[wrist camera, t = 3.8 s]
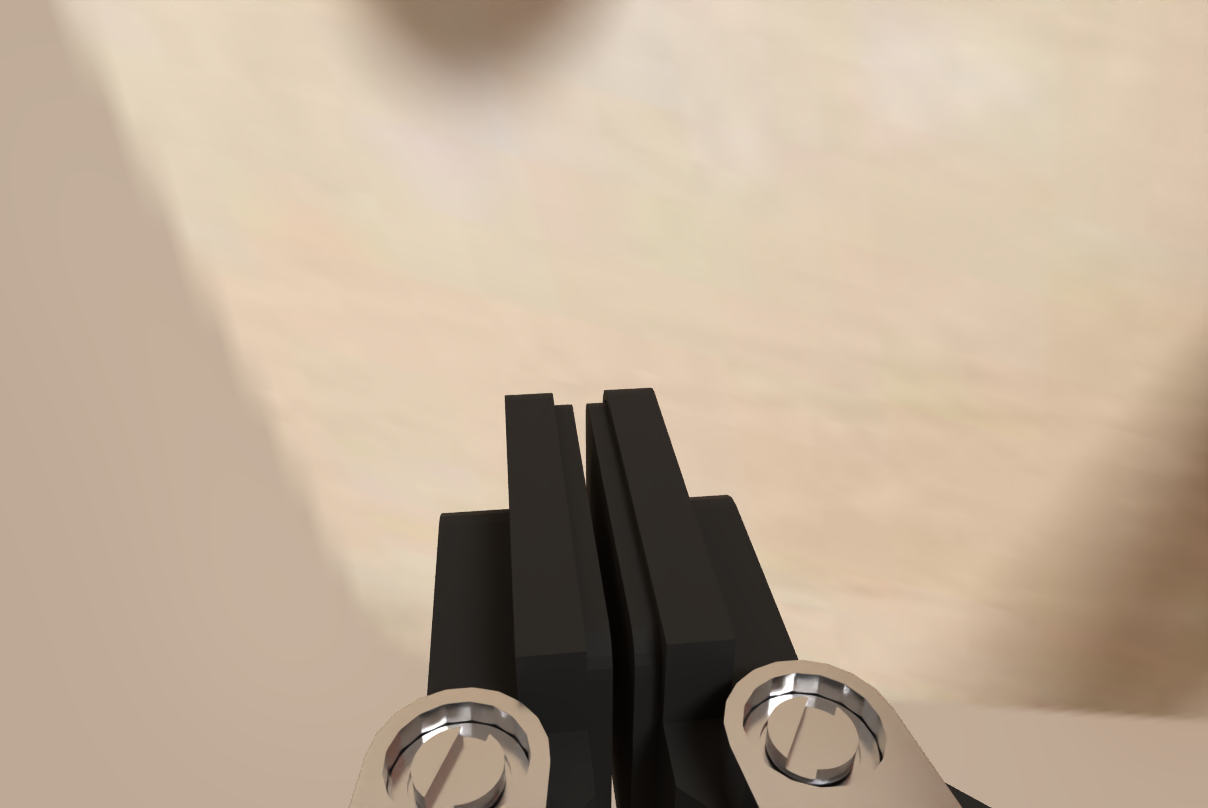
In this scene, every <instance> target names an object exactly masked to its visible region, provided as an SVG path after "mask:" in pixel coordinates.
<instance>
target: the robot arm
mask: <svg viewBox="0 0 1208 808" xmlns="http://www.w3.org/2000/svg"><path fill="white" fill-rule="evenodd" d="M505 414H506V439H507V464H508V489H509V509H502V510H487V511H472V512H456V513H441V516H440V522H439V533H438V548H437V562H436V576H435V590H434V605H433V619H432V633H431V648H430V662H429V676H428V691H427V696H426V697H422V698H419V699H418V700H416V701H414V702H413V703H411V704H410V705H408V706H406V707H405V708H403V709H402V710H400V711H398V712H397V713H395V714H394V715H393V716H392V717H391V719H390V720H389V721H388V722H387V723H386V724H385V725H384V726H383V727H382V728H381V729H380V730H379V731H378V732H377V733H376V735H375V737H374V739H373V741H372V743H371V745H370V747H369V749H368V751H367V753H366V755H365V758H364V761H363V764H362V767H361V770H360V774H359V777H358V780H357V783H356V786H355V790H354V793H353V796H352V799H351V802H350V805H349V808H611V784H612V781H611V780H612V779H613V786H614V793H615V800H616V807H617V808H991V807H988V806H987V805H985V804H983V803H981V802H980V801H978V800H976V799H974V798H972V797H970V796H968V795H966V794H965V793H963V792H961V791H959V790H958V789H956V788H954V787H952V786H950V785H948V784H947V783H945V782H944V781H943V779H942V778H941V777H940V775H939V774H938V772H937V771H936V769H935V768H934V766H933V765H932V763H931V762H930V761H929V759H928V758H927V756H926V755H925V753H924V752H923V750H922V749H921V747H920V746H919V745H918V743H917V742H916V740H915V739H914V737H913V736H912V735H911V733H910V732H909V730H908V729H907V727H906V726H905V724H904V723H903V721H902V720H901V719H900V717H899V716H898V714H897V713H896V711H895V710H894V709H893V707H892V706H891V705H890V704H889V703H888V702H887V701H886V700H885V698H884V697H883V696H882V695H881V694H880V693H879V692H878V691H877V690H876V689H875V688H874V687H872V686H871V685H869V684H868V683H866V682H865V681H863V680H862V679H860V678H859V677H857V676H856V675H854V674H852V673H850V672H847V671H845V670H842V669H839V668H837V667H834V666H832V665H829V664H825V663H818V662H812V661H806V660H798V658H797V655H796V653H795V650H794V648H793V645H792V643H791V640H790V638H789V635H788V633H787V630H786V628H785V625H784V623H783V620H782V618H781V615H780V613H779V610H778V608H777V605H776V603H775V601H774V598H773V596H772V593H771V591H770V588H769V586H768V583H767V581H766V578H765V576H764V573H763V571H762V568H761V566H760V563H759V561H758V558H757V556H756V553H755V551H754V548H753V546H752V543H751V541H750V539H749V536H748V534H747V531H746V529H745V526H744V524H743V521H742V519H741V516H740V514H739V511H738V509H737V506H736V504H735V503H734V501H733V499H732V497H730V496H728V495H719V496H703V497H689V495H688V492H687V489H686V486H685V483H684V480H683V477H682V474H681V471H680V468H679V465H678V462H677V459H676V456H675V453H674V450H673V447H672V444H671V441H670V438H669V435H668V432H667V429H666V426H665V423H664V420H663V417H662V414H661V411H660V408H659V405H658V402H657V399H656V396H655V393H654V390H653V388H638V389H619V390H604V394H603V403H590V404H587V405H586V484H585V478H584V472H583V466H582V460H581V454H580V448H579V442H578V436H577V430H576V424H575V418H574V412H573V407H572V405H554V399H553V393H542V394H523V395H505Z"/></svg>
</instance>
